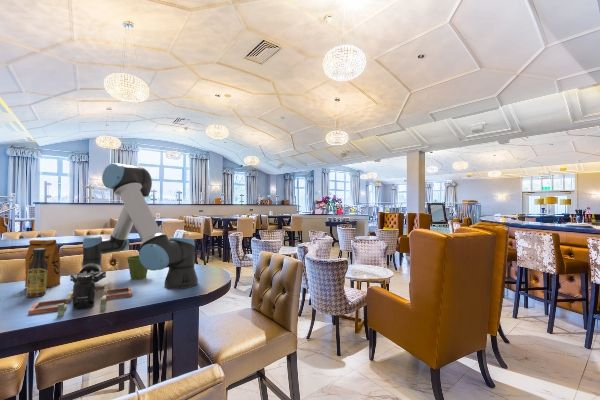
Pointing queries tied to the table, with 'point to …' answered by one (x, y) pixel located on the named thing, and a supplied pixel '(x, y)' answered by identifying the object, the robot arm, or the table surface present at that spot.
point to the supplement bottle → (84, 292)
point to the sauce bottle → (37, 274)
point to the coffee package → (50, 257)
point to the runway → (60, 303)
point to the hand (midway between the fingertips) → (84, 284)
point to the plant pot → (136, 268)
